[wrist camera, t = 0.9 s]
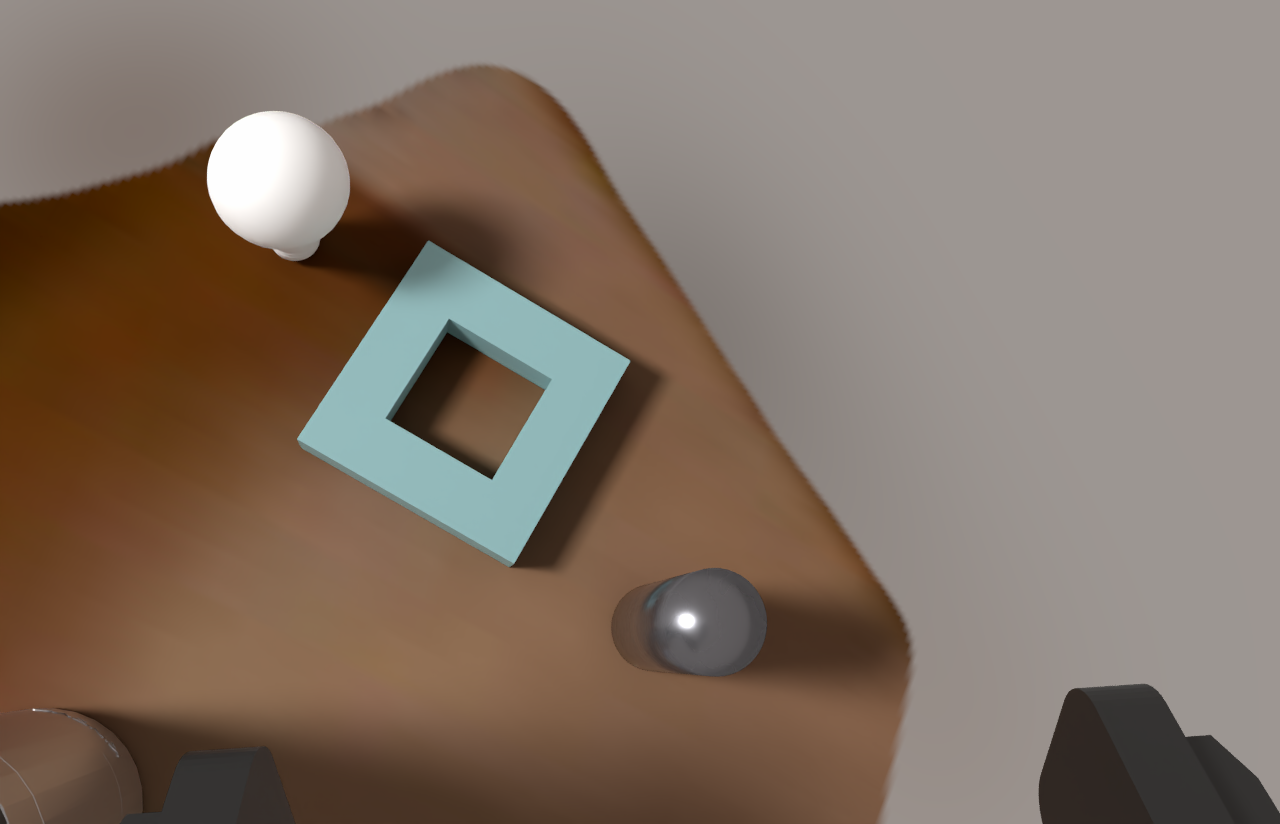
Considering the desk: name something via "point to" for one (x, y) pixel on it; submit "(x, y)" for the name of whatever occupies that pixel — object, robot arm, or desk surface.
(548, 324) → the frame
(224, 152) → the lightbulb
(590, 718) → the desk surface
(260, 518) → the desk surface
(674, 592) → the brushed steel cylinder
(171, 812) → the robot arm
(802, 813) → the desk surface
